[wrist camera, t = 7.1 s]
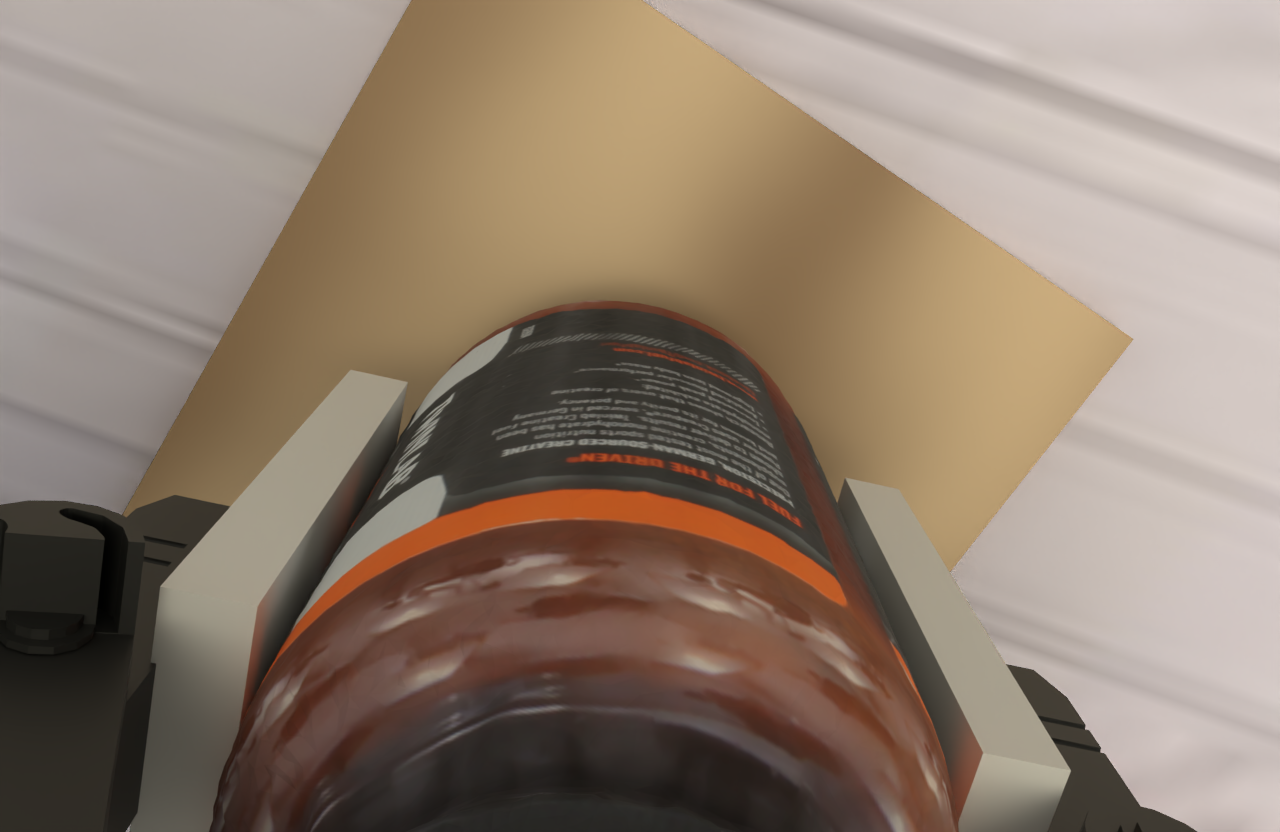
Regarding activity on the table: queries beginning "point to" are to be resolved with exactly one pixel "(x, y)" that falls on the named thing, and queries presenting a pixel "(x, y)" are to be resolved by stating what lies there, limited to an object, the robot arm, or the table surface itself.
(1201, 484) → the table surface
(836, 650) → the supplement bottle
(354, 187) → the cork mat
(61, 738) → the robot arm
